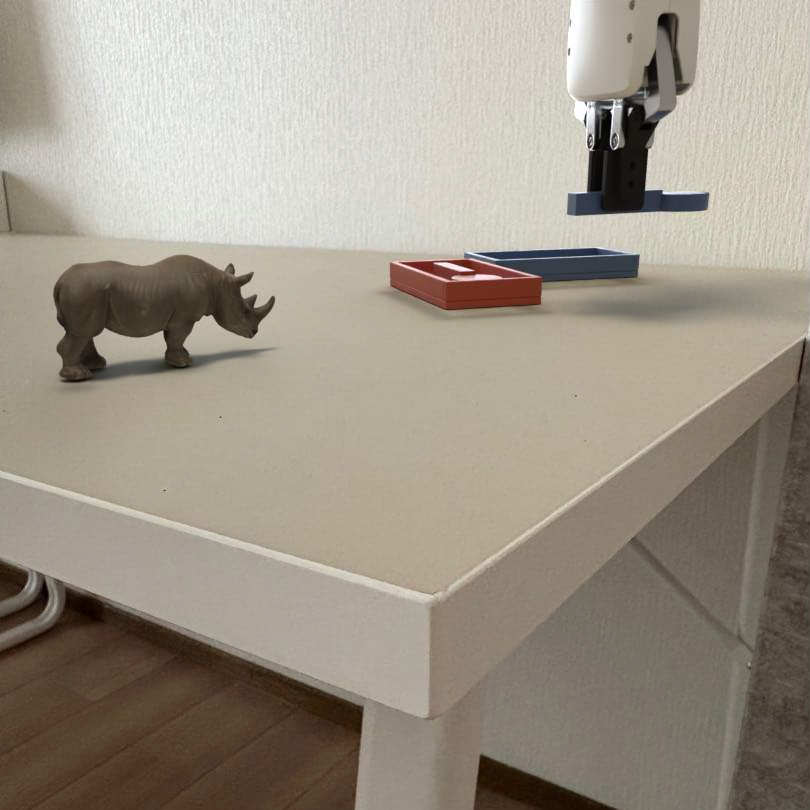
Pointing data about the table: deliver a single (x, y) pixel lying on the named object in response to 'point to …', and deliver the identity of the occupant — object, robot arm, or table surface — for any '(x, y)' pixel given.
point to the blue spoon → (652, 202)
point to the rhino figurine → (148, 306)
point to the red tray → (466, 284)
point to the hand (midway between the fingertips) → (614, 208)
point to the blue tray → (565, 262)
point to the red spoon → (457, 272)
